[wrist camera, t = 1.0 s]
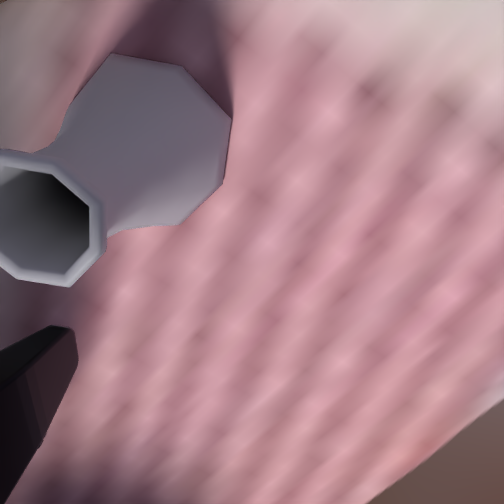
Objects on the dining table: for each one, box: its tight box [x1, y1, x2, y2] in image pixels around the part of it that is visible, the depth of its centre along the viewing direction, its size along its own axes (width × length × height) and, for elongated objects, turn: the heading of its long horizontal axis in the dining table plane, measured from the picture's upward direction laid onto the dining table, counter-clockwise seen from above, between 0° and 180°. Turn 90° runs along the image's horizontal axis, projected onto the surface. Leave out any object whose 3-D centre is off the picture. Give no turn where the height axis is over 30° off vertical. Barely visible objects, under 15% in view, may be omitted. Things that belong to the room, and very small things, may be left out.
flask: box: [0, 53, 231, 288], centre depth 14 cm, size 7×7×10 cm
